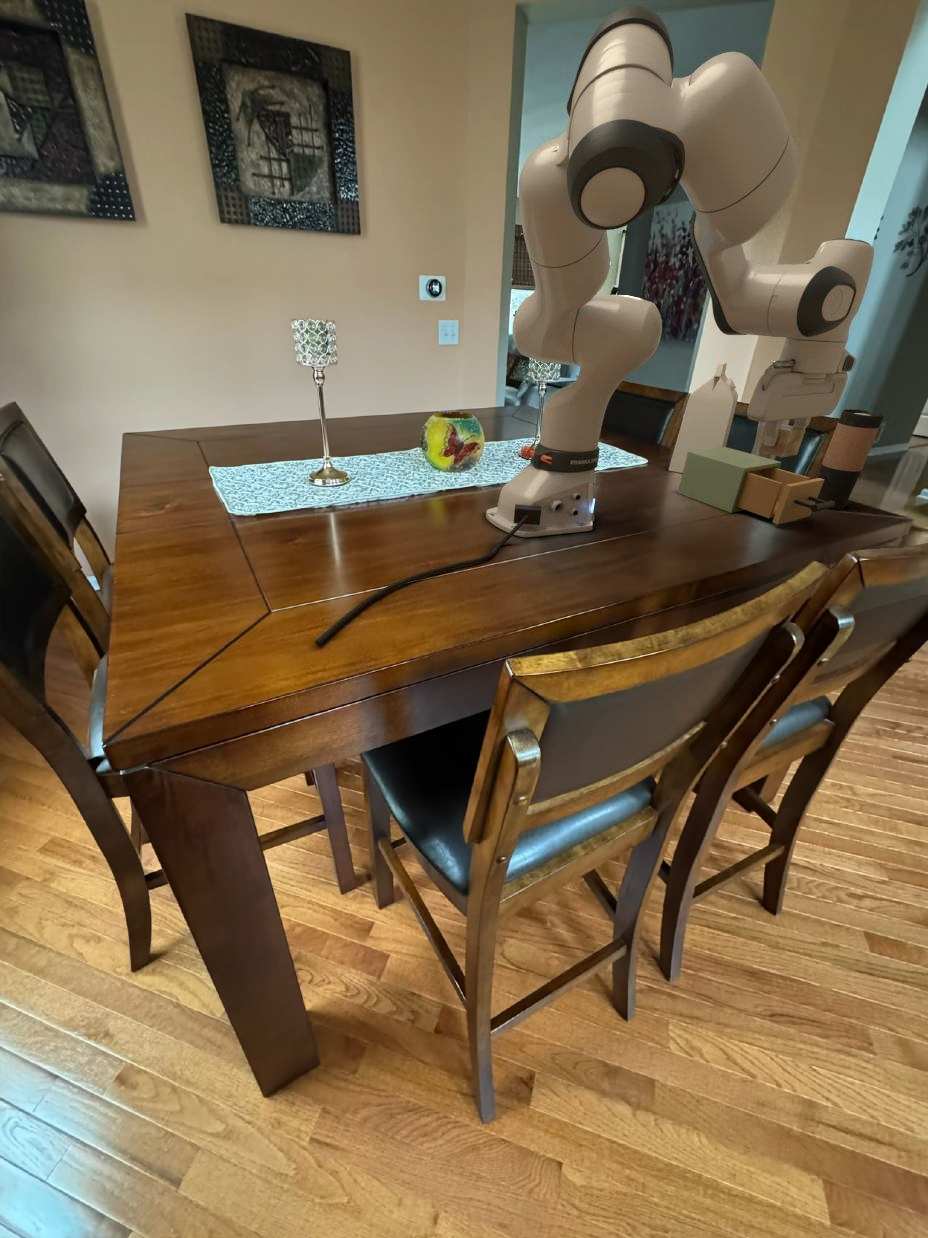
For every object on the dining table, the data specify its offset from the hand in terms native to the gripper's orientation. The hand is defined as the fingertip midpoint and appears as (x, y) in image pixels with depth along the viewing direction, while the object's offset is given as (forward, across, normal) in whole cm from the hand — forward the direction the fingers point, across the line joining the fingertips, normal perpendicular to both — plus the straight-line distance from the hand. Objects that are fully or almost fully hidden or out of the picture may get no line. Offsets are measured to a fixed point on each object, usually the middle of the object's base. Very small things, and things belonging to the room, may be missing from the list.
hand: (780, 444), depth 96 cm
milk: (+18, +27, +38) cm, 49 cm away
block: (+2, 0, 0) cm, 2 cm away
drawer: (+16, +13, +4) cm, 21 cm away
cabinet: (+17, +12, +17) cm, 27 cm away
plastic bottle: (+18, +33, +24) cm, 45 cm away
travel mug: (+18, +33, +5) cm, 38 cm away
